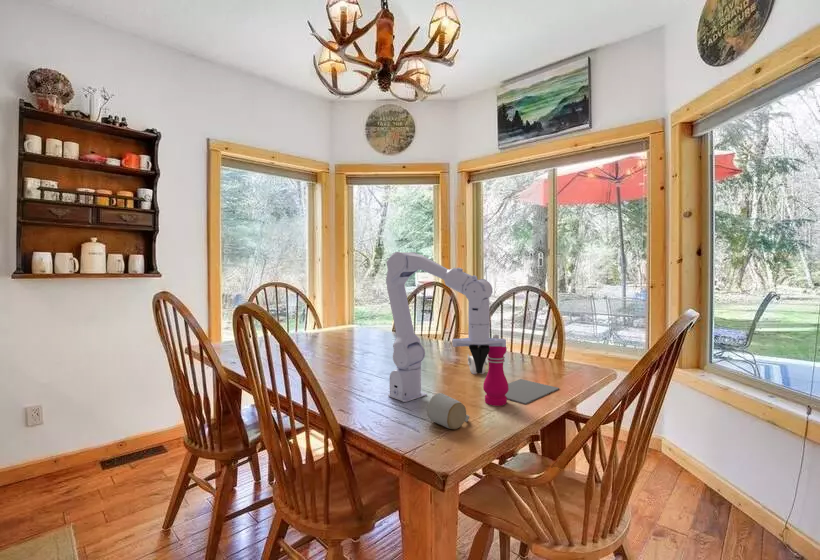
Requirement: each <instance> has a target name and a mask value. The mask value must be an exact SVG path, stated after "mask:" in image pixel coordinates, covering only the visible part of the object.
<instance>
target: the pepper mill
mask: <svg viewBox="0 0 820 560" xmlns="http://www.w3.org/2000/svg"><path fill="white" fill-rule="evenodd" d="M492 338H497V339H500V336H499V334H497V333H495V334H494V335H493V336H492ZM489 348H490V351H489V353H488V355H487V361H488V370H487V374H486V376H485V379H484V381H483V385H482V388H483V392H484V393H485V395H484V403H486V404H487V405H488V406H493V407H503V406H505V405H506V404H507V403H508V402H507V401H508V399H507V397H506V396H505V394H506V393H507V392H508V390H509V388H508V383H509V382H508V380H507V378H506V375H505V371H504V363H505V359H506V358H505V354H506V353H507V346H506V347H502V346H489Z"/></svg>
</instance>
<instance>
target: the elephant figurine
mask: <svg viewBox="0 0 820 560" xmlns="http://www.w3.org/2000/svg"><path fill="white" fill-rule="evenodd" d="M488 364H489V362H488V361H487V357H486V359H485V362H484V365H483V369H482V373H479V374H480V375H484V374H486V366H487V365H488ZM467 365H468V366H469V367H468V368H469V371H470V372H471V374H472V375H477V374H478V373H477V372H476V367H475V362H474V359H473V356H472V355H469V353H467Z"/></svg>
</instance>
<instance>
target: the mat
mask: <svg viewBox="0 0 820 560" xmlns="http://www.w3.org/2000/svg"><path fill="white" fill-rule="evenodd" d="M508 388H509V390H508V392H507V393H506V394H505V396H506V397H507V401H512V402H515V403H518V404H522V405H528V404H530V403H532V402H534V401H536V400H538V399H541V398H543V397H546V396H548V395H549V393H550V394H552V393H554V392H557V391H559V390H560V387H557V386H552V385H548V384H544V383H539V382H537V381H536V382H535V381H531V380H527V379H524V378H523V379H522V378H519V379H516V380H514V381H511V382H508ZM558 389H559V390H558ZM551 392H552V393H551ZM547 394H548V395H547Z"/></svg>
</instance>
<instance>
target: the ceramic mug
mask: <svg viewBox="0 0 820 560" xmlns="http://www.w3.org/2000/svg"><path fill="white" fill-rule="evenodd" d="M426 409H427V410H426V413H427V414H426V415H427V417H428V419H429V420H430V421H431V422H434V423H435V424H438V425H440V426H442V427H444V428H447V429H449V430H457V429H459V428H460V427H462V426H463V424H464V423H465V422H466V423H467V422H469V420H470V419H469V418H470V415H469V414H467V409H466V407H465V404H463V403H462V402H461V401H459V400H457V399H455V398H453V397H451V396H449V395H447V394H445V393H442V392H439V393H435V394H434V395H433V396H432V397H431V398H430V400H429V401H428V403H427V408H426Z"/></svg>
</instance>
